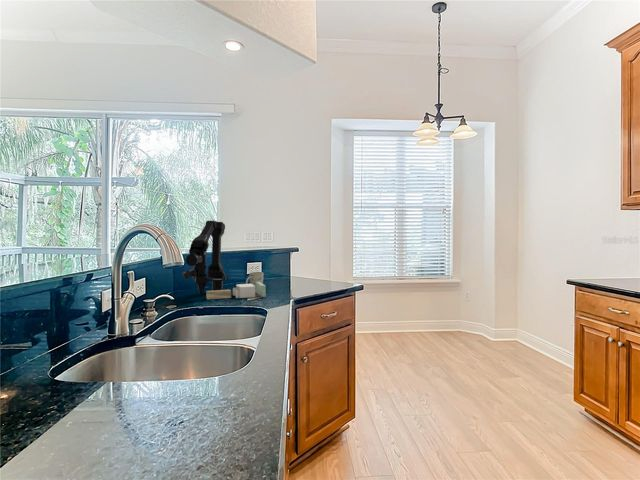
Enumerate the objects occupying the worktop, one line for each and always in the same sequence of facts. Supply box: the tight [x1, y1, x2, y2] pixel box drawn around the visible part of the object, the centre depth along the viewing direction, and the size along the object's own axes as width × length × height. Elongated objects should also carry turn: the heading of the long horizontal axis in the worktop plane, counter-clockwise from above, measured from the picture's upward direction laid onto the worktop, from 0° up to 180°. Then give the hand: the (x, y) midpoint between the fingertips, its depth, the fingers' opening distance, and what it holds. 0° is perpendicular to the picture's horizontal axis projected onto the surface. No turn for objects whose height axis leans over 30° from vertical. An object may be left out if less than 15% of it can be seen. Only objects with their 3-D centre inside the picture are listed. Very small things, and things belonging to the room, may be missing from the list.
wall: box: [255, 282, 267, 298], centre depth 201 cm, size 14×2×6 cm, turn 23°
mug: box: [245, 271, 264, 292], centre depth 215 cm, size 8×13×10 cm, turn 148°
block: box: [232, 283, 256, 299], centre depth 197 cm, size 10×10×6 cm
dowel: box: [205, 289, 232, 300], centre depth 192 cm, size 4×12×4 cm, turn 114°
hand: (200, 294), depth 189 cm, fingers closed
